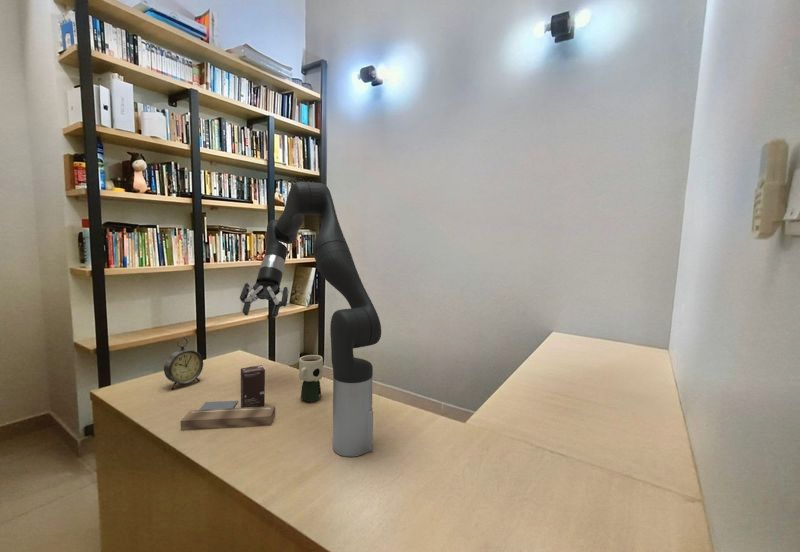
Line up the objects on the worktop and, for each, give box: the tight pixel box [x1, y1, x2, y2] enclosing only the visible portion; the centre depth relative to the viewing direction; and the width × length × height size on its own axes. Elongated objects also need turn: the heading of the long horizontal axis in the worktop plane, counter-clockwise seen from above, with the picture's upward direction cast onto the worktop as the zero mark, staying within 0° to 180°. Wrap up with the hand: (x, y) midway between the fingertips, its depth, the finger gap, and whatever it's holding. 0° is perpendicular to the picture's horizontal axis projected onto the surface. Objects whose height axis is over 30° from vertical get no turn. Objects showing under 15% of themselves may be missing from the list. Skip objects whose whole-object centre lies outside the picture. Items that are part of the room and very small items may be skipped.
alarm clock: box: [163, 336, 204, 390], centre depth 119 cm, size 11×5×16 cm, turn 148°
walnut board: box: [180, 405, 276, 431], centre depth 96 cm, size 22×6×3 cm, turn 99°
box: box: [240, 364, 266, 408], centre depth 103 cm, size 6×4×12 cm
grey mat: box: [198, 400, 239, 410], centre depth 103 cm, size 9×9×1 cm
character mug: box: [298, 354, 324, 402], centre depth 111 cm, size 11×7×13 cm, turn 163°
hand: (259, 315), depth 112 cm, fingers open, 8 cm apart
